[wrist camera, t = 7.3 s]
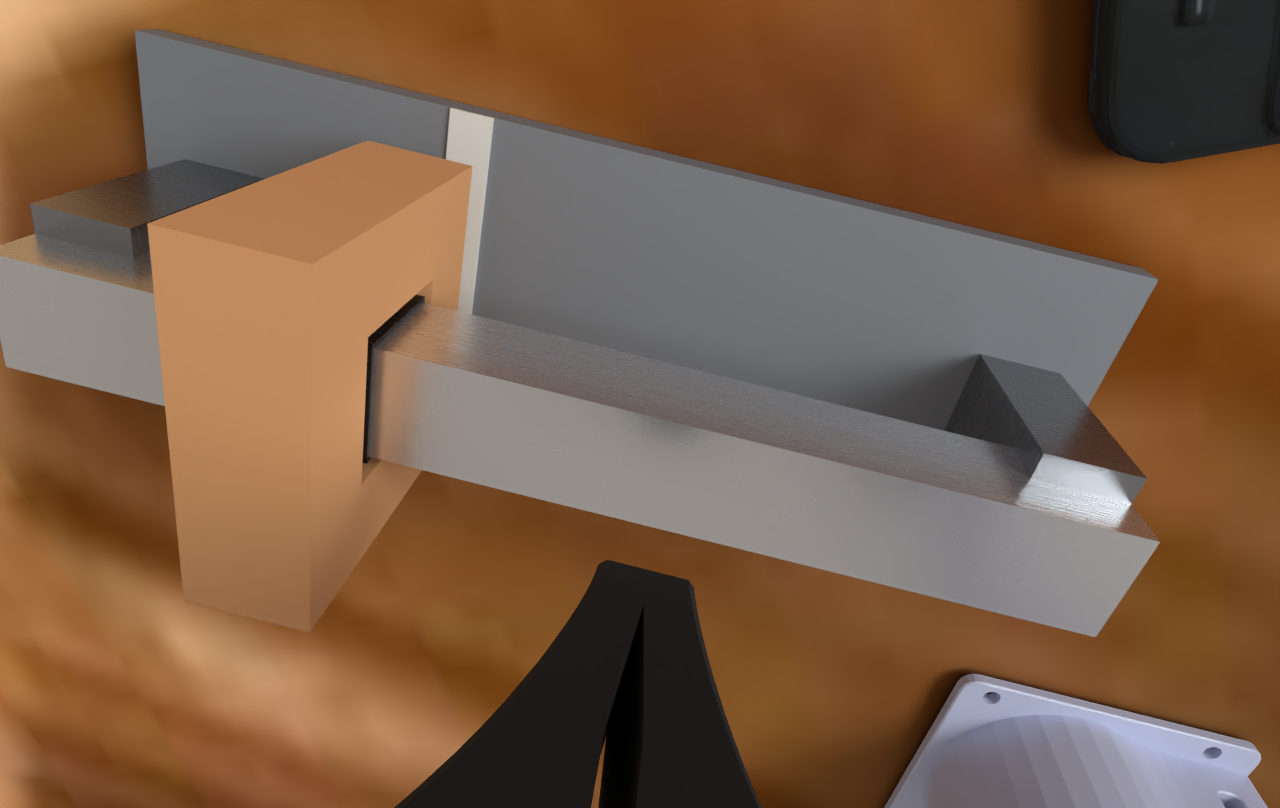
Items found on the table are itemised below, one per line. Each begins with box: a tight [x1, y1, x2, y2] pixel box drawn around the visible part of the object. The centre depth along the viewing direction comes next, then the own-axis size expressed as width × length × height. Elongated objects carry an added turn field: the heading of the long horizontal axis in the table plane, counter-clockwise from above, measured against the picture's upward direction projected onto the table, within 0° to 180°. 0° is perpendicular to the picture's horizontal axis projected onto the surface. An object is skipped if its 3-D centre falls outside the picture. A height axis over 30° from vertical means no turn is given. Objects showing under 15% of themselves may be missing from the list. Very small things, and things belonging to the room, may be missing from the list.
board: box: [135, 29, 1158, 431], centre depth 20 cm, size 24×9×1 cm, turn 78°
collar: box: [147, 140, 473, 633], centre depth 16 cm, size 2×7×7 cm, turn 168°
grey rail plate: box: [0, 159, 1160, 637], centre depth 17 cm, size 22×4×6 cm, turn 78°
